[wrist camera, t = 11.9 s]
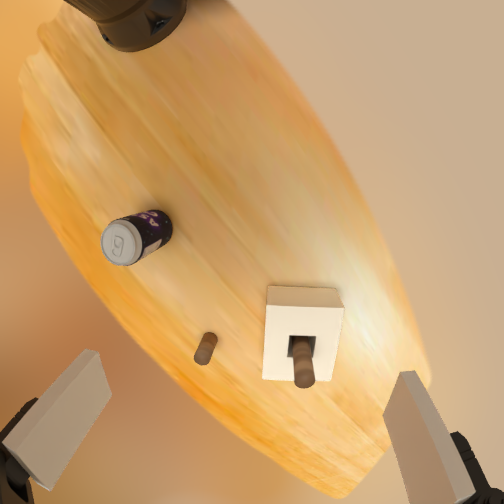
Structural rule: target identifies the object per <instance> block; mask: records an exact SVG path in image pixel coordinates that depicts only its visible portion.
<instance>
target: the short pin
mask: <svg viewBox="0 0 504 504" xmlns="http://www.w3.org/2000/svg"><path fill="white" fill-rule="evenodd" d="M216 343H217V336H216V335H215V334H213V333H210V332H208V333H205V334H204V336H203V338H202V340H201V342H200V344H199V346H198V349H197V351H196V353H195V355H194V360H195V362H196V363H198V364H199V365H207V364H208V363H209V361H210V359H211V356H212V353H213V351H214V348H215V346H216Z"/></svg>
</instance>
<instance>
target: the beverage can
mask: <svg viewBox="0 0 504 504" xmlns="http://www.w3.org/2000/svg"><path fill="white" fill-rule="evenodd" d="M171 235H172V224H171V221H170V219H169V218H168V216H167V215H166V214H165V213H163V212H162V211H159V210H149V211H145V212H141V213H138V214H134V215H130V216H127V217H123V218H120V219H116V220H114V221H112V222H111V223H110V224H109V225H108V226H107V227H106V228H105V230H104V231H103V233H102V236H101V249H102V252H103V254H104V256H105V257H106V258H107V260H108V261H110V262H111V263H113V264H115V265H120V266H121V265H123V266H129V265H132V264H134V263H136V262H137V261H139V260H141V259H142V258H144V257H145V256H147V255H149V254H150V253H152V252H154V251H155V250H157V249H159V248H160V247H162V246H164V245H165V244H166V243H167V242H168V241H169V240H170V238H171Z"/></svg>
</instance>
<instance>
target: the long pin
mask: <svg viewBox="0 0 504 504" xmlns="http://www.w3.org/2000/svg"><path fill="white" fill-rule="evenodd" d="M292 350H293V366H294V383H295V385H296V386H297V387H299V388H309V387H311V386H312V385H313V384H314V383H315V374H314V368H313V362H312V355H311V349H310V343H309V338H308V336H298V335H292Z"/></svg>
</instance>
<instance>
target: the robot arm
mask: <svg viewBox="0 0 504 504" xmlns="http://www.w3.org/2000/svg"><path fill="white" fill-rule="evenodd" d="M64 1H65V2H67V3H69V4H70V5H72V6H73V7H75V8H76V9H78V10H79V11H81V12H82V13H84V14H85V15H87V16H88V17H90V18H91V19H93V20H94V21H95V22H96V24H97V26H98V28H99V30H100V33H101V35H102V37H103V39H104V40H105V41H106V42H107V43H108V44H109V45H110V46H112V47H113V48H115V49H117V50H119V51H123V52H133V51H139V50H142V49H145V48H148V47H150V46H152V45H154V44H156V43H158V42H159V41H161V40H162V39H164V38H165V37H166V36H168V35H169V34H170V33H171V32H172V31H173V30H174V29H175V28H176V27H177V25H178V24H179V23H180V21H181V20H182V18H183V16H184V13H185V10H186V0H64ZM111 396H112V393H111V390H110V387H109V384H108V382H107V379H106V376H105V373H104V369H103V366H102V363H101V360H100V356H99V353H98V352H97V351H92V350H89V349H85V350H84V351H83V352H82V353H81V354H80V355H79V356H78V357H77V358H76V359H75V360H74V361H73V362H72V363H71V364H70V365H69V366H68V368H67V369H66V370H65V371H64V372H63V373H62V374H61V375H60V376H59V377H58V378H57V379H56V380H55V382H54V383H53V384H52V385H51V386H50V387H49V388H48V389H47V390H46V391H45V393H44V394H43V395H42V396H41V397H40V398H39V399H38V398H34V399H32V400H30V401H29V402H27V403H26V404H25V405H24V406H23V407H22V408H21V410H20V412H18V413H17V414H16V415H15V417H13V418H12V419H11V421H10V422H9V423H8V424H7V425H6V426H5V428H4V429H3V430H2V431H1V432H0V504H34V499H33V494H32V489H31V484H30V482H29V480H28V478H29V477H30V476H31V477H32V478H33V480H34V481H35V482H36V483H37V484H39V485H41V486H42V487H44V488H46V489H47V490H49V491H51V490H52V489H53V487H54V485H55V484H56V482H57V480H58V479H59V477H60V475H61V474H62V472H63V471H64V469H65V467H66V466H67V464H68V462H69V461H70V459H71V458H72V456H73V455H74V453H75V451H76V450H77V448H78V447H79V445H80V443H81V442H82V440H83V439H84V437H85V436H86V434H87V433H88V431H89V430H90V428H91V426H92V425H93V423H94V422H95V420H96V419H97V417H98V416H99V414H100V413H101V411H102V410H103V408H104V407H105V405H106V404H107V402H108V401H109V399H110V398H111ZM383 418H384V421H385V424H386V427H387V430H388V433H389V436H390V439H391V442H392V445H393V448H394V451H395V454H396V457H397V461H398V464H399V467H400V471H401V474H402V477H403V481H404V484H405V488H406V491H407V494H408V498H409V502H410V504H504V492H502V491H501V490H499V489H497V488H491V487H490V485H489V484H488V482H487V480H486V478H485V475H484V473H483V471H482V469H481V467H480V465H479V463H478V461H477V459H476V458H475V455H474V453H473V451H471V447H470V445H469V443H468V441H467V439H466V438H465V437H464V436H462V435H461V434H460V433H459V432H458V431H457V432H454V433H450V434H449V432H448V430H447V428H446V426H445V424H444V422H443V420H442V418H441V416H440V414H439V413H438V411H437V409H436V407H435V405H434V403H433V401H432V400H431V398H430V396H429V394H428V392H427V391H426V389H425V387H424V385H423V384H422V382H421V380H420V378H419V377H418V375H417V373H416V371H415V370H414V371H406V372H400V373H399V376H398V379H397V381H396V384H395V387H394V389H393V392H392V394H391V397H390V399H389V402H388V404H387V406H386V409H385V411H384V413H383Z"/></svg>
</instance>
